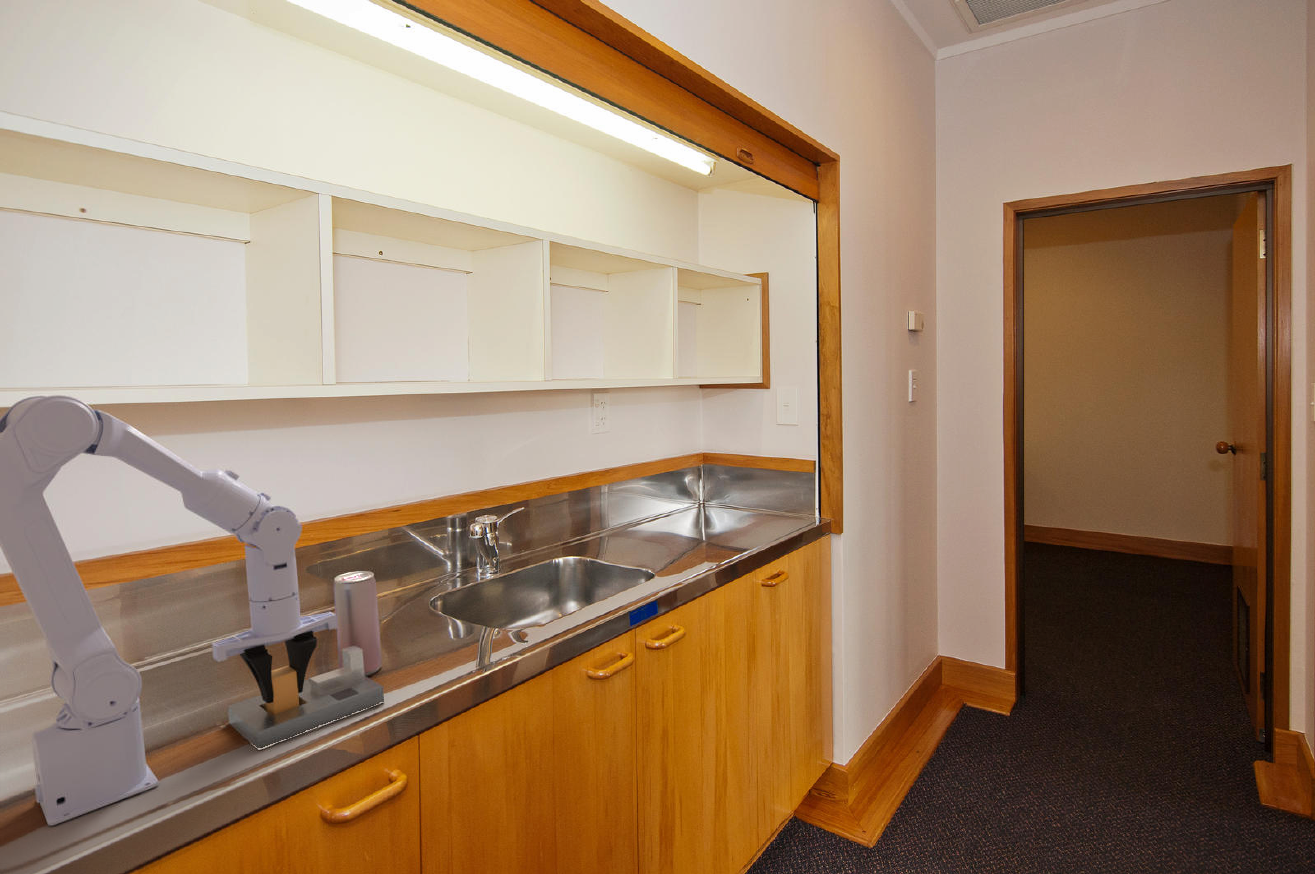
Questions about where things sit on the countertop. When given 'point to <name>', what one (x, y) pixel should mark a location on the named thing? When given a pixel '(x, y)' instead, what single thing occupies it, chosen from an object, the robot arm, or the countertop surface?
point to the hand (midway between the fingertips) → (282, 695)
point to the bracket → (341, 673)
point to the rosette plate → (301, 712)
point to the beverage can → (358, 617)
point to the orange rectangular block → (283, 690)
